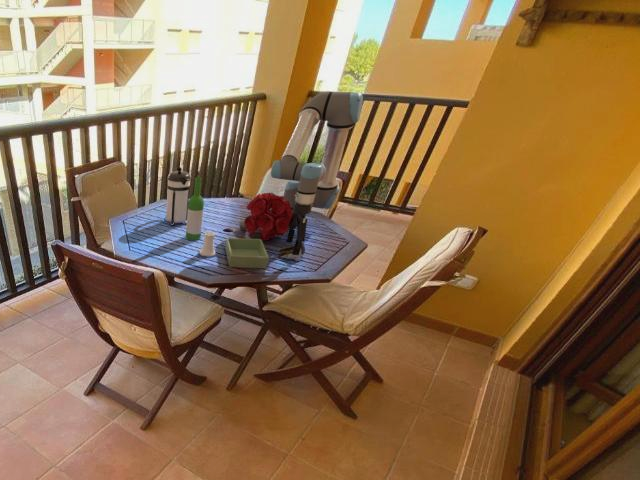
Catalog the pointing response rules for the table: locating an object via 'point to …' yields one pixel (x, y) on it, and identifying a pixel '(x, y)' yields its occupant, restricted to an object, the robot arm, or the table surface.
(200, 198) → the wine bottle
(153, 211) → the table surface
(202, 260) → the table surface
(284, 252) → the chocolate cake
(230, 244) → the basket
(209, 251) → the salt shaker
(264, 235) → the bouquet
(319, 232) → the table surface
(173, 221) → the coffee press
